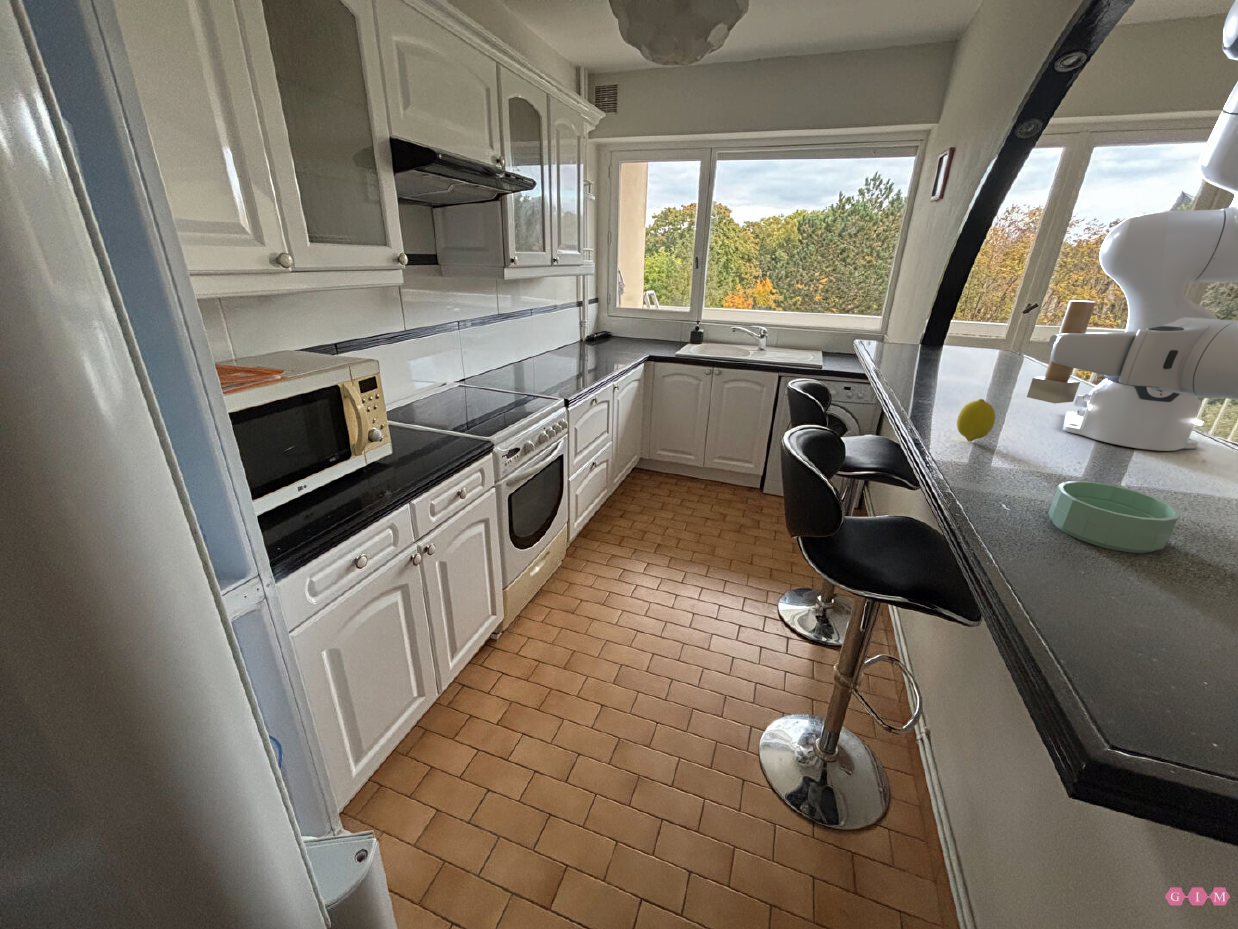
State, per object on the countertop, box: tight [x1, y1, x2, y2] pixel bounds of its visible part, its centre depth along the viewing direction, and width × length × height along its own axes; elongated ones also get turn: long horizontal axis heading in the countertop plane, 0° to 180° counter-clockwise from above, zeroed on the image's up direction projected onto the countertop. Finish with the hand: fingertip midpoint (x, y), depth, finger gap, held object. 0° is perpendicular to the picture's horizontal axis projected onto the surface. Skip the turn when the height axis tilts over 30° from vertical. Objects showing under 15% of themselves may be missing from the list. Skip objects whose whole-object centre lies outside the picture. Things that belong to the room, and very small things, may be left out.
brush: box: [1026, 300, 1097, 404], centre depth 73 cm, size 4×4×14 cm
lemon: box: [956, 398, 996, 442], centre depth 92 cm, size 6×6×8 cm
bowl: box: [1047, 480, 1181, 554], centre depth 61 cm, size 11×11×4 cm
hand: (1062, 340), depth 73 cm, fingers closed on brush, 3 cm apart
